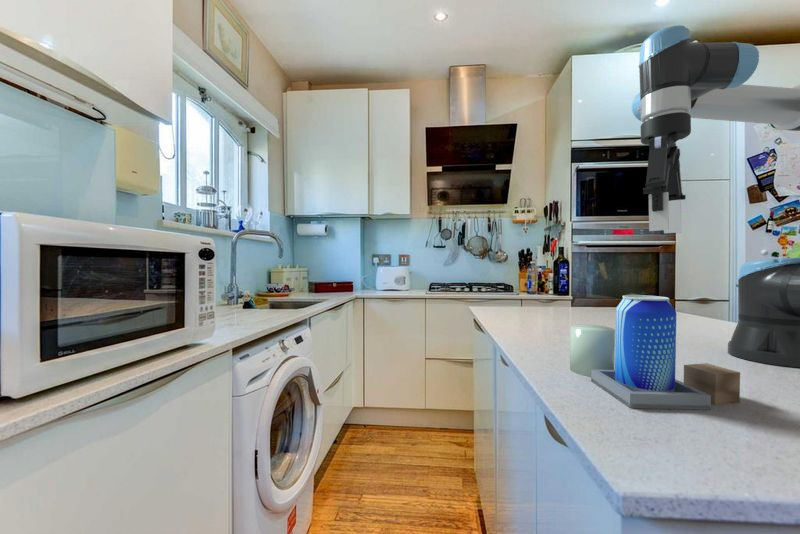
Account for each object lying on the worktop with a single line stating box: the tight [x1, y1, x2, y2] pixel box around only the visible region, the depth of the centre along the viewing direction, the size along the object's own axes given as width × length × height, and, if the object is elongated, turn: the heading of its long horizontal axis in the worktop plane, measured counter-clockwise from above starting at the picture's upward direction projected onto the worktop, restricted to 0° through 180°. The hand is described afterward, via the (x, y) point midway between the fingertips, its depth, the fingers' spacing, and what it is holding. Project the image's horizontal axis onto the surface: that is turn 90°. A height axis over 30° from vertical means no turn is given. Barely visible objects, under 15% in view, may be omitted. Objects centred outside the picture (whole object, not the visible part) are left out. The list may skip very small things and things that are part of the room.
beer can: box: [614, 294, 677, 392], centre depth 60 cm, size 8×8×16 cm
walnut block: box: [683, 362, 741, 406], centre depth 58 cm, size 5×5×5 cm
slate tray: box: [590, 369, 712, 411], centre depth 60 cm, size 12×12×2 cm
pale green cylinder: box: [569, 323, 616, 378], centre depth 72 cm, size 8×8×9 cm
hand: (666, 232), depth 66 cm, fingers open, 13 cm apart
